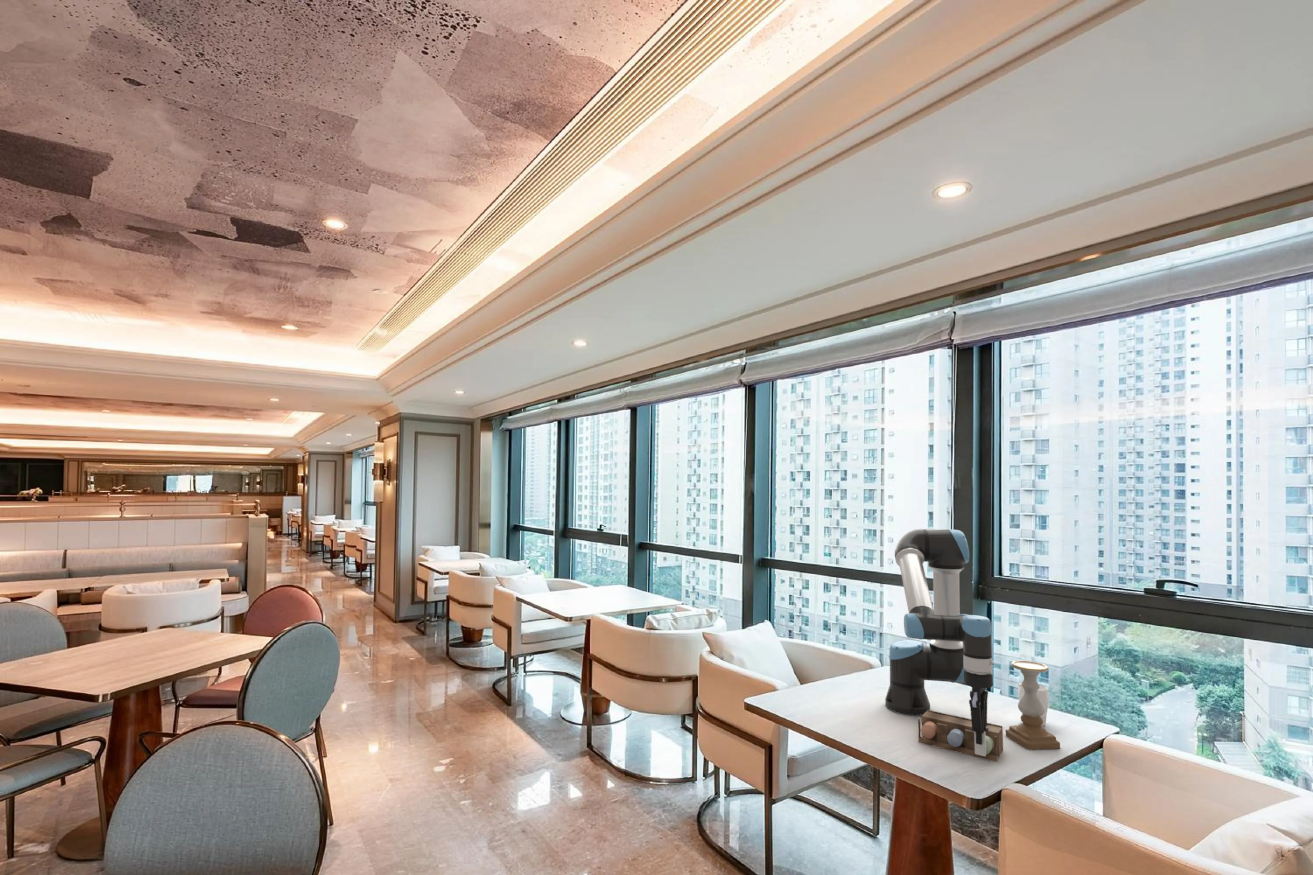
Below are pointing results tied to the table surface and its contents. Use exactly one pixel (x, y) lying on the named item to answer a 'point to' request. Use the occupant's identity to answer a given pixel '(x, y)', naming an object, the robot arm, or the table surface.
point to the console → (951, 722)
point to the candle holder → (1031, 711)
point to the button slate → (955, 737)
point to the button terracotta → (929, 730)
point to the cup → (1043, 697)
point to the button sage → (989, 744)
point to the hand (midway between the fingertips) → (980, 754)
